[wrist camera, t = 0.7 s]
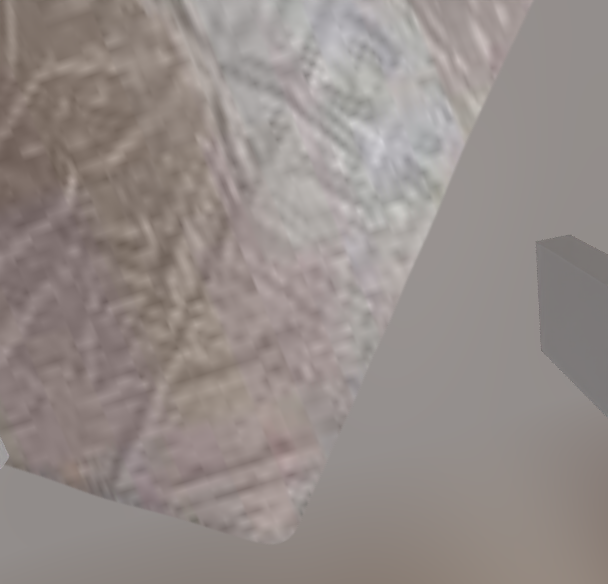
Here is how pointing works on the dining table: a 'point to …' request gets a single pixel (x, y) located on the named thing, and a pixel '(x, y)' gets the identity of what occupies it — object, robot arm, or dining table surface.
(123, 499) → the dining table surface
